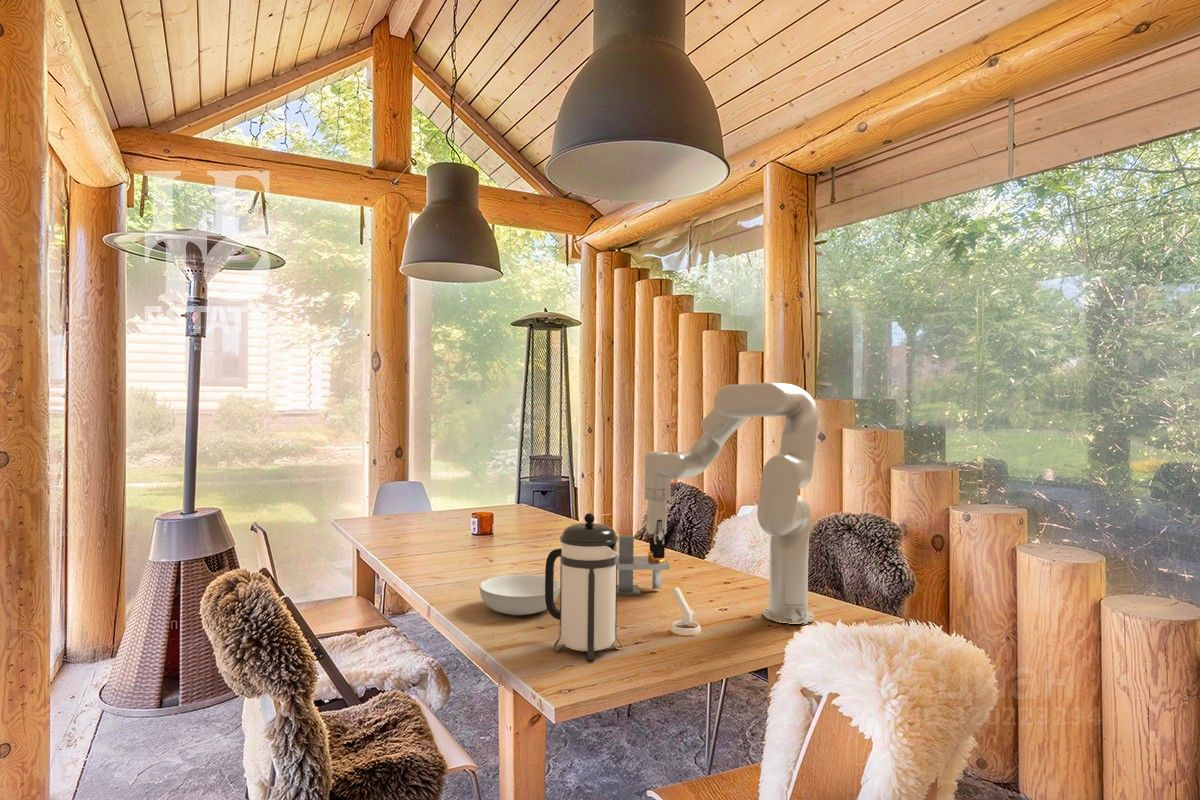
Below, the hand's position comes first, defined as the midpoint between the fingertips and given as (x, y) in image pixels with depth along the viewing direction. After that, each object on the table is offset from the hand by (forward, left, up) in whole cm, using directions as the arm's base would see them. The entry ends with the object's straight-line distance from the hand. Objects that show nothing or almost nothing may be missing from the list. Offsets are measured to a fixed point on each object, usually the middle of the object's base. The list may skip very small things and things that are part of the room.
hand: (656, 554), depth 196 cm
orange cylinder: (0, 0, -10) cm, 10 cm away
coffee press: (-46, +22, -11) cm, 52 cm away
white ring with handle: (-34, -3, -11) cm, 36 cm away
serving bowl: (-18, +38, -11) cm, 43 cm away
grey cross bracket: (0, +5, -11) cm, 12 cm away
